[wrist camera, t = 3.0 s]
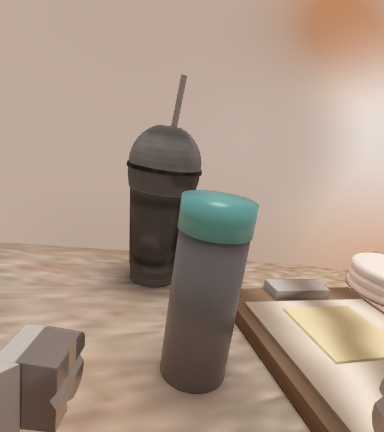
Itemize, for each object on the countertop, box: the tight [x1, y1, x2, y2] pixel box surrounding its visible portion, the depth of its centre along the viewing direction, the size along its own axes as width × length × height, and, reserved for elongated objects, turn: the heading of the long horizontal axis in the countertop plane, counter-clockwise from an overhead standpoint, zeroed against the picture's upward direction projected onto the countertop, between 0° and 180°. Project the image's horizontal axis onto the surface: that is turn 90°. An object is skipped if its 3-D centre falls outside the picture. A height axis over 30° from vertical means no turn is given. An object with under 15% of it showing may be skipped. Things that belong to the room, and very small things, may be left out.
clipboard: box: [235, 279, 384, 432], centre depth 26 cm, size 15×22×2 cm
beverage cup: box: [127, 75, 202, 287], centre depth 34 cm, size 7×7×20 cm
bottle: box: [160, 190, 259, 393], centre depth 22 cm, size 5×5×12 cm
